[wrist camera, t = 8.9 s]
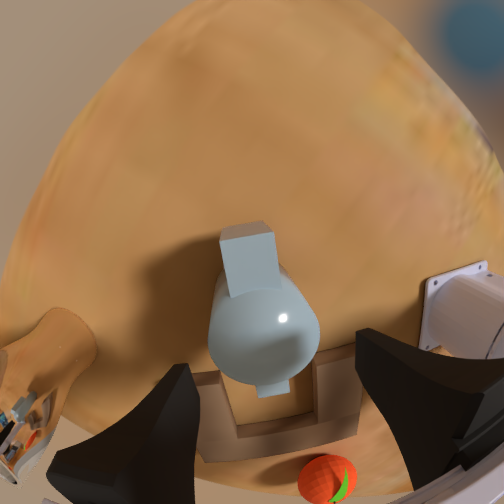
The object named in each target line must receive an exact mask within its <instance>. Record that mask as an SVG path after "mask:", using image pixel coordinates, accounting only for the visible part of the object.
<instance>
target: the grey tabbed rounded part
mask: <svg viewBox="0 0 504 504" xmlns="http://www.w3.org/2000/svg"><path fill="white" fill-rule="evenodd" d="M219 242H220V248H221V253H222V258H223V263H224V269H223V270H222V271H221V273H220V274H219V276H218V278H217V281H216V285H215V291H214V298H213V304H212V311H211V318H210V325H209V332H208V349H209V353H210V355H211V358H212V360H213V362H214V363H215V365H216V366H217V367H218V368H219V369H220V370H221V371H222V372H223V373H224V374H225V375H227V376H228V377H230V378H232V379H234V380H236V381H238V382H241V383H245V384H250V385H256V390H257V394H258V398H263V397H268V396H274V395H279V394H284V393H289V392H290V388H289V380H288V379H289V378H291V377H293V376H295V375H296V374H298V373H299V372H300V371H302V370H303V369H304V368H305V367H306V366H307V365H308V364H309V362H310V361H311V360H312V358H313V357H314V355H315V353H316V351H317V348H318V345H319V340H320V328H319V323H318V320H317V318H316V316H315V314H314V312H313V311H312V309H311V308H310V306H309V305H308V303H307V301H306V300H305V298H304V297H303V295H302V294H301V292H300V291H299V289H298V288H297V286H296V285H295V283H294V282H293V280H292V279H291V277H290V276H289V274H288V273H287V271H286V270H285V269H284V267H283V266H282V265H281V264H280V263H278V258H277V251H276V244H275V237H274V232H273V231H272V230H271V229H270V228H269V227H268V226H267V225H266V224H265V223H264V222H263V221H257V222H251V223H245V224H240V225H234V226H228V227H223V228H222V231H221V236H220V240H219Z"/></svg>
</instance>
